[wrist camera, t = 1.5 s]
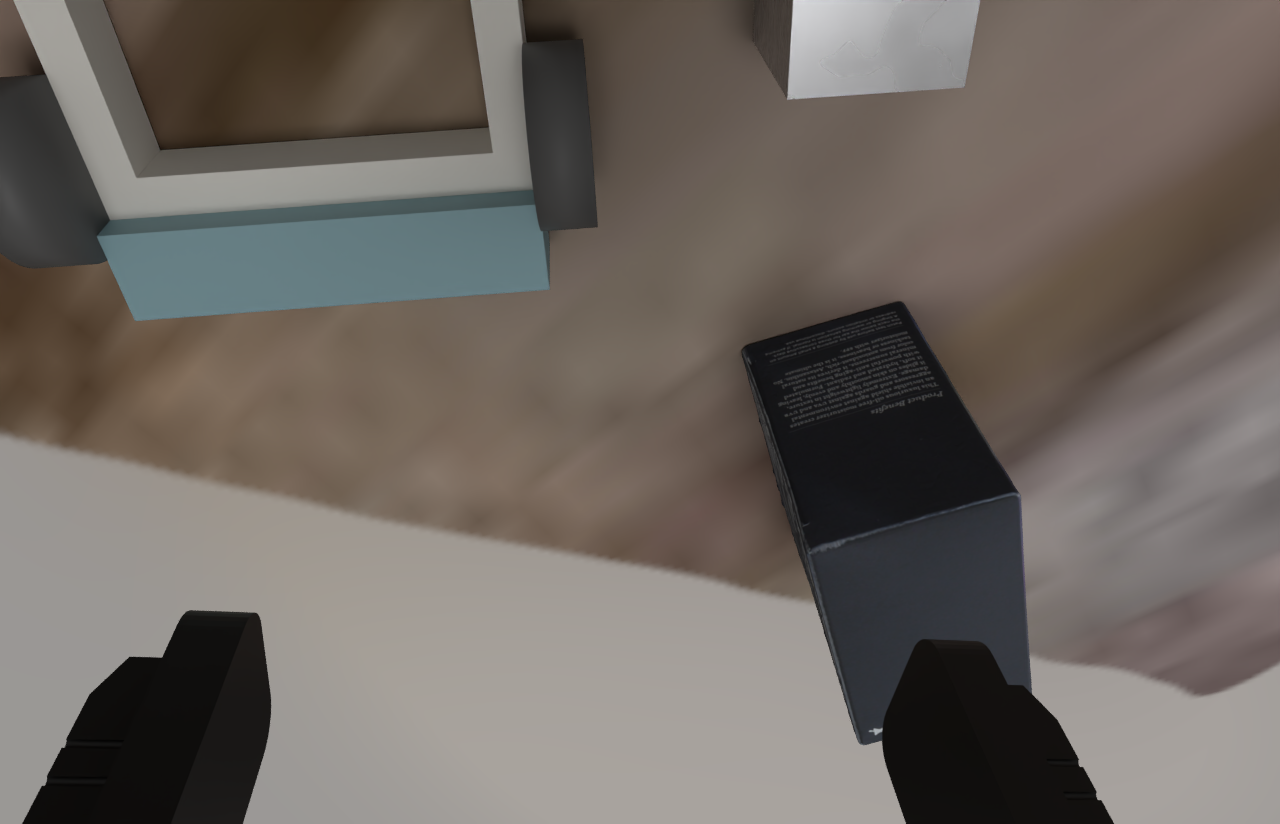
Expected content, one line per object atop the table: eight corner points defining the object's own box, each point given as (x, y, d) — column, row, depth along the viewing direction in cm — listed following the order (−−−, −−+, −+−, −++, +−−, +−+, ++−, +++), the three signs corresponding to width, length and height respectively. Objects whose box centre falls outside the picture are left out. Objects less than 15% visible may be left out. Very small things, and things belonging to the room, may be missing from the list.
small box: (939, 495, 39) (1044, 710, 31) (791, 535, 40) (853, 754, 32) (912, 292, 32) (1035, 495, 24) (735, 344, 33) (796, 558, 25)
